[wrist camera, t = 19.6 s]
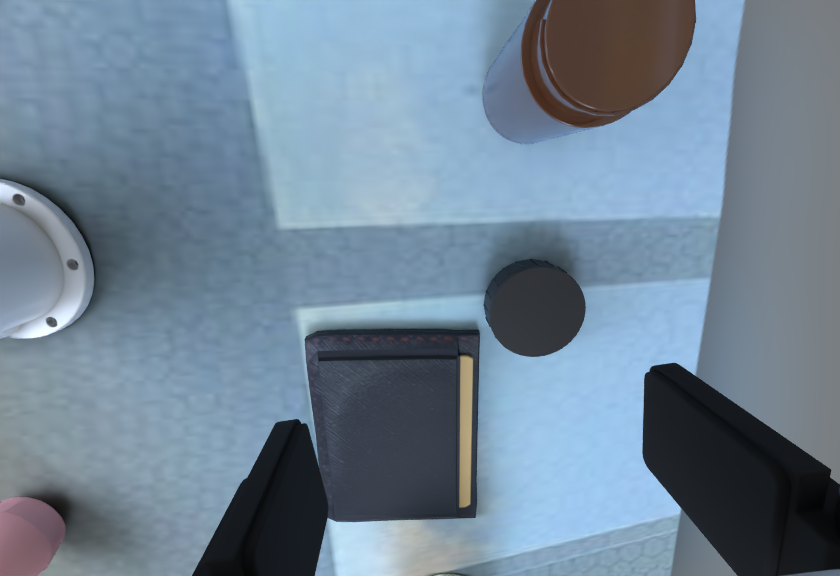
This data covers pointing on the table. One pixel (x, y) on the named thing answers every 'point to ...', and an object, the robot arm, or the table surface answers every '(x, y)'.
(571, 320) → the lid
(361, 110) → the table surface
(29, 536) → the pink teardrop shaped piece
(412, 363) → the wallet
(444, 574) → the coffee can
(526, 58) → the jar
